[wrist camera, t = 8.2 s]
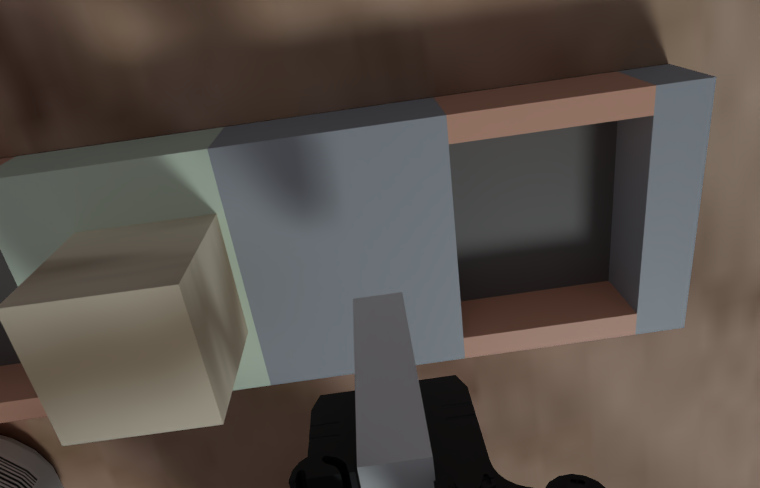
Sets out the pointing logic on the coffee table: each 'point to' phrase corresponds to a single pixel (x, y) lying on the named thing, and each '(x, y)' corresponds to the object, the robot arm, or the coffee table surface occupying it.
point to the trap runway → (406, 218)
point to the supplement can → (24, 467)
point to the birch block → (131, 330)
